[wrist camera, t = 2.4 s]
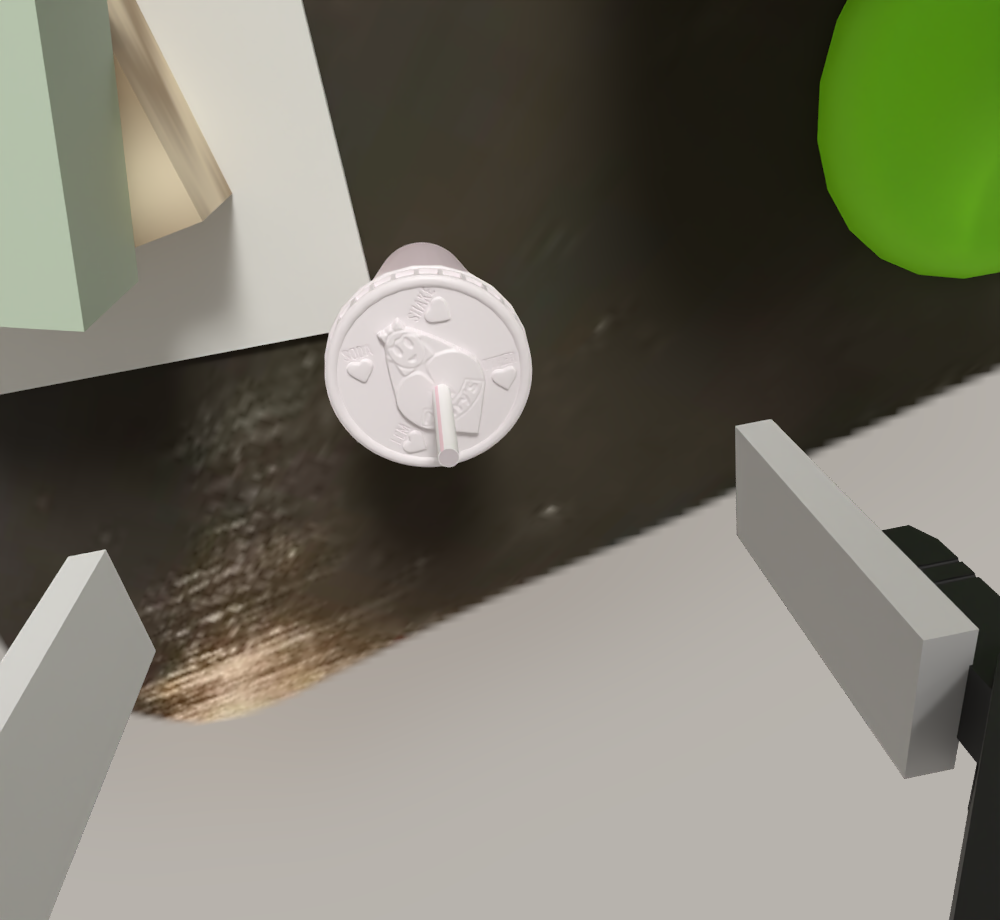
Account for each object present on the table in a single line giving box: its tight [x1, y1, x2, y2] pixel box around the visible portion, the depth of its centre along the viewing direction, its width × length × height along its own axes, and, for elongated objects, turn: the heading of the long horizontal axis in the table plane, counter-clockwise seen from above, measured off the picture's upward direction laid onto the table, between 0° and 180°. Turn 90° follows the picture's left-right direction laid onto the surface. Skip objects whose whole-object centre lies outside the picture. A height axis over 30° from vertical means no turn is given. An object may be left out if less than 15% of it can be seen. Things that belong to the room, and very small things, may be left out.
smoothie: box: [324, 242, 532, 467], centre depth 26 cm, size 6×6×14 cm
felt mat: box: [0, 0, 371, 394], centre depth 27 cm, size 20×20×1 cm
